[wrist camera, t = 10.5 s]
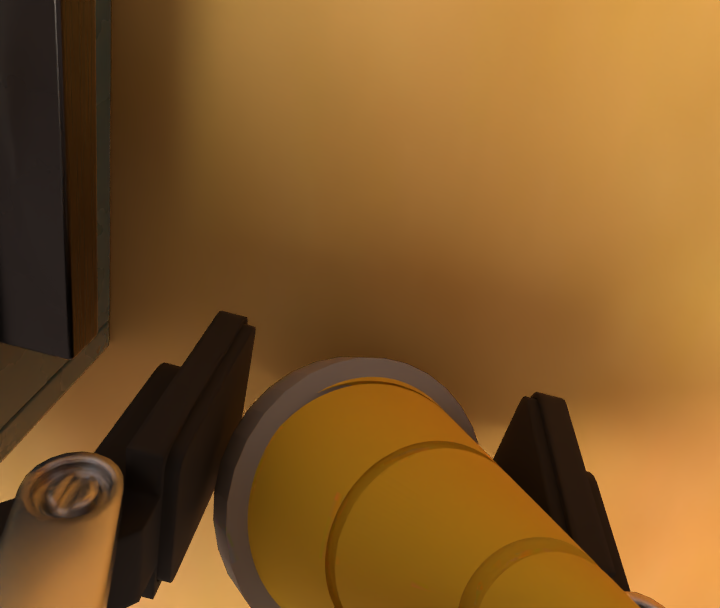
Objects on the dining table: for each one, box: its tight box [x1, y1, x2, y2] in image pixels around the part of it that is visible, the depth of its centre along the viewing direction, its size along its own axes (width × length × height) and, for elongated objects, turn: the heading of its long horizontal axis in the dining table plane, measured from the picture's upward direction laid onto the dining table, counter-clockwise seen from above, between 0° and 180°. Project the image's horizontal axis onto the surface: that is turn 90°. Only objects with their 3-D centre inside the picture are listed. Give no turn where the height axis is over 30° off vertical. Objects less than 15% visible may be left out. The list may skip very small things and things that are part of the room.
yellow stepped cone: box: [213, 357, 640, 608], centre depth 10 cm, size 5×5×10 cm
